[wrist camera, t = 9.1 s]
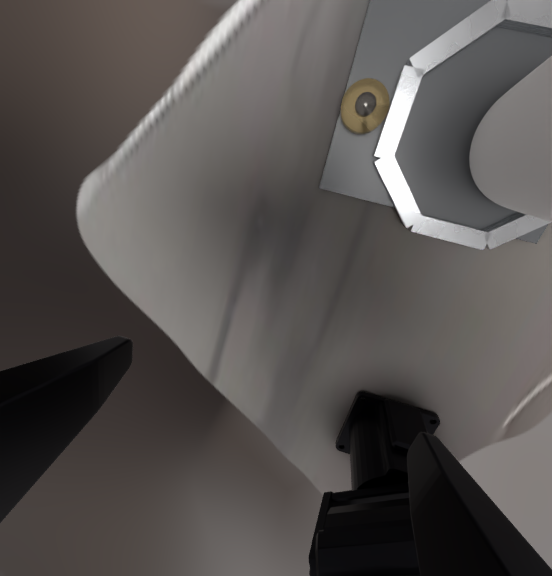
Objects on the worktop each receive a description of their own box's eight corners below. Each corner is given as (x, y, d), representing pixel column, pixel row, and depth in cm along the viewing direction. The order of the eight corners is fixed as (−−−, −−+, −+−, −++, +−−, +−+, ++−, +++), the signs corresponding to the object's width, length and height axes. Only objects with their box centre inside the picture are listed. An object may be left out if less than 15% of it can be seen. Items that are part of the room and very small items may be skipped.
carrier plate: (531, 241, 18) (536, 243, 17) (319, 187, 19) (319, 188, 18) (655, 34, 14) (666, 29, 13) (375, -20, 15) (377, -26, 14)
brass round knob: (376, 138, 17) (381, 135, 15) (335, 129, 17) (335, 125, 15) (392, 89, 16) (399, 80, 14) (348, 79, 16) (349, 69, 14)
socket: (535, 261, 18) (544, 265, 17) (353, 214, 19) (354, 216, 18) (678, 32, 13) (698, 24, 12) (429, -16, 14) (434, -26, 13)
